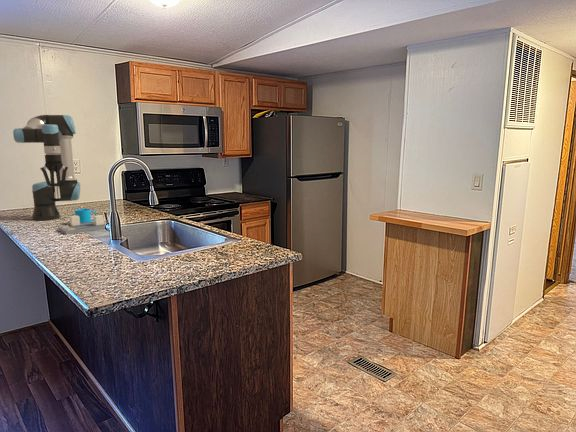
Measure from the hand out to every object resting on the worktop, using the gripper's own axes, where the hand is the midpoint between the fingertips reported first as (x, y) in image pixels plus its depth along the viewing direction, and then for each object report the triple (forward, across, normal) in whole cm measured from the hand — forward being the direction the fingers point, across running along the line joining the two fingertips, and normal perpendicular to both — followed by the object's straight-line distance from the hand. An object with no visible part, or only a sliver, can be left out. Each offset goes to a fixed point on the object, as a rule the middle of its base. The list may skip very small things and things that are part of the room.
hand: (57, 198), depth 220 cm
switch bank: (+18, +12, -4) cm, 23 cm away
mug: (+19, +18, +14) cm, 30 cm away
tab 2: (+16, +18, -8) cm, 25 cm away
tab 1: (+16, +8, 0) cm, 18 cm away
